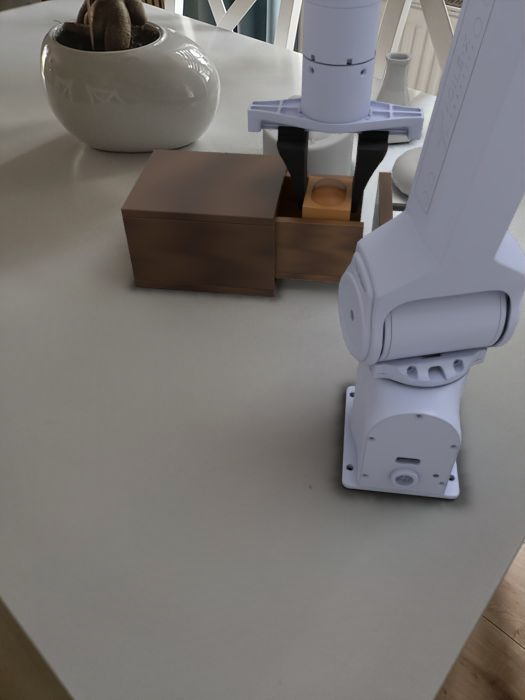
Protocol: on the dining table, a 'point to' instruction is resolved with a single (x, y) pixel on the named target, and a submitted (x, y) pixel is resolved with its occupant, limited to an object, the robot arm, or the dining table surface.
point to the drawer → (323, 234)
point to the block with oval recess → (328, 199)
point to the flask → (396, 85)
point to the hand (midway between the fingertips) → (328, 206)
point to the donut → (406, 169)
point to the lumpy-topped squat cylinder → (319, 150)
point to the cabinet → (205, 221)
